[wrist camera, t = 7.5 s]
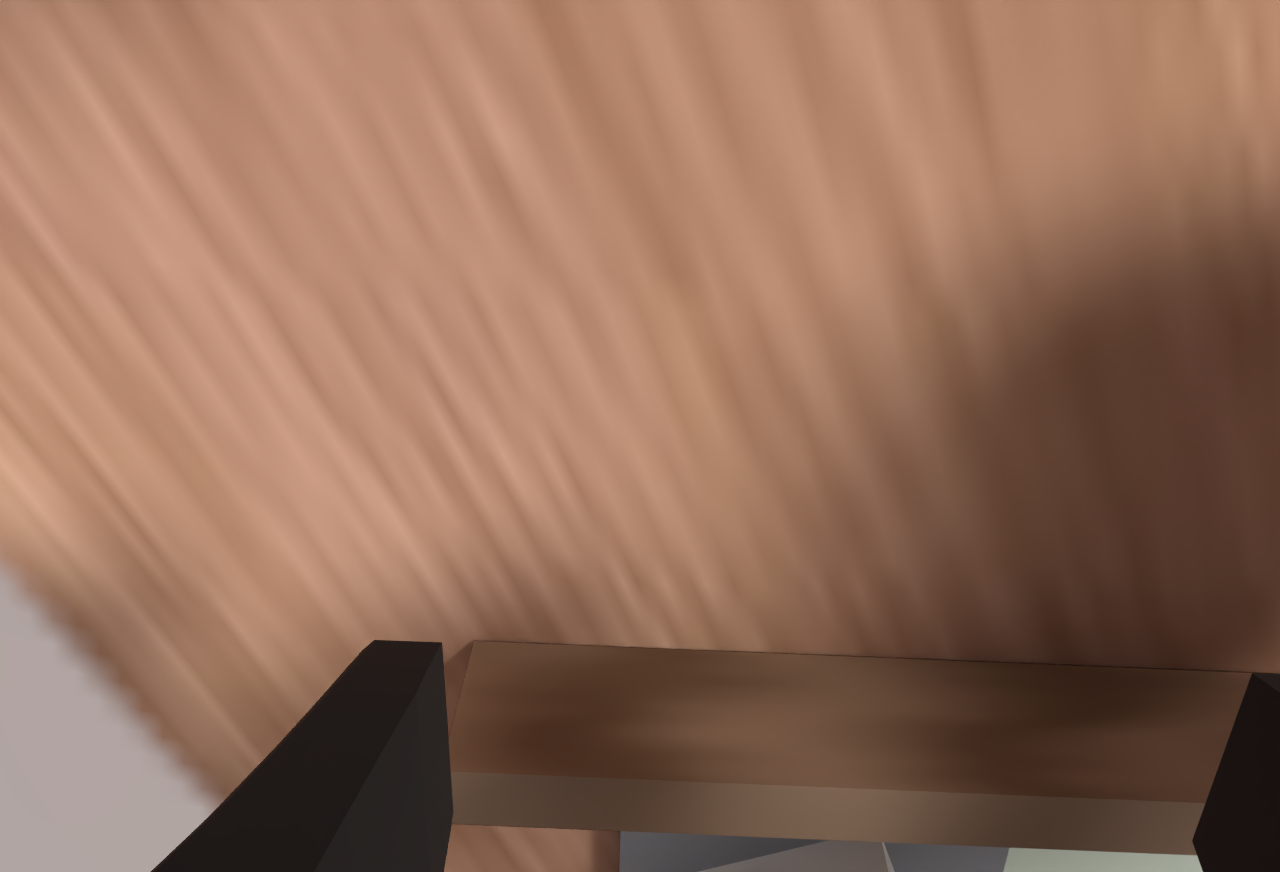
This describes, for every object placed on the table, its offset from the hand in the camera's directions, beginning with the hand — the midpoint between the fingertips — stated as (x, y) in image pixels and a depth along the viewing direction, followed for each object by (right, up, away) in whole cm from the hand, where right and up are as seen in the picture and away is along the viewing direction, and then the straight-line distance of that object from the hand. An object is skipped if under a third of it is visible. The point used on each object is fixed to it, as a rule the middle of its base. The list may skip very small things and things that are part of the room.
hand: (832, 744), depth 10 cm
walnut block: (+5, -2, +11) cm, 13 cm away
